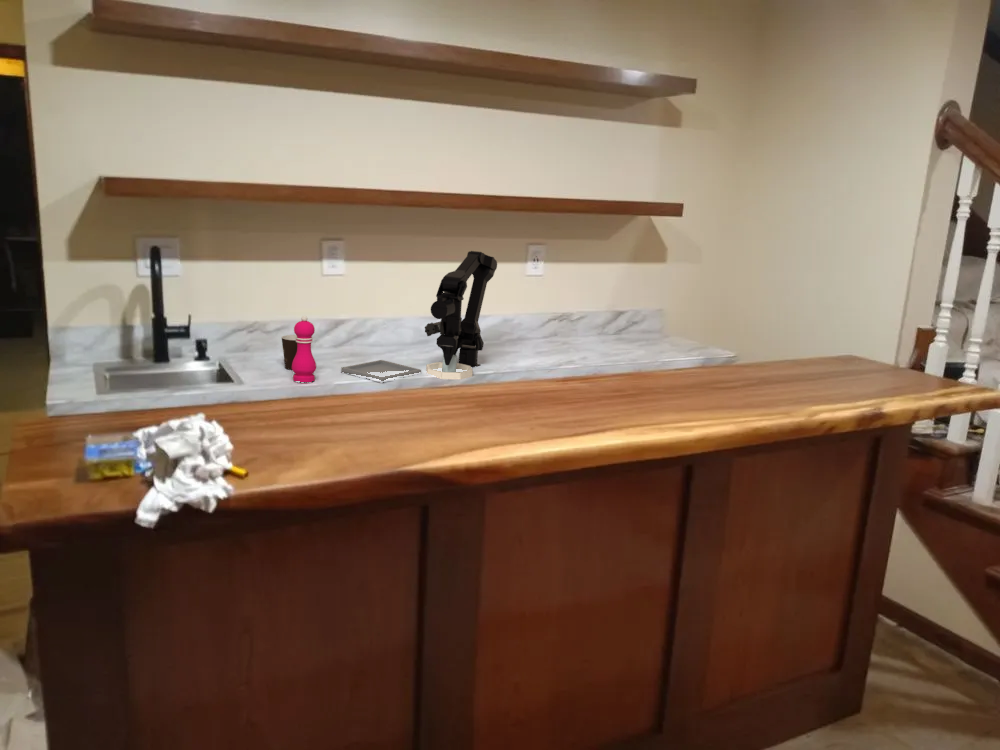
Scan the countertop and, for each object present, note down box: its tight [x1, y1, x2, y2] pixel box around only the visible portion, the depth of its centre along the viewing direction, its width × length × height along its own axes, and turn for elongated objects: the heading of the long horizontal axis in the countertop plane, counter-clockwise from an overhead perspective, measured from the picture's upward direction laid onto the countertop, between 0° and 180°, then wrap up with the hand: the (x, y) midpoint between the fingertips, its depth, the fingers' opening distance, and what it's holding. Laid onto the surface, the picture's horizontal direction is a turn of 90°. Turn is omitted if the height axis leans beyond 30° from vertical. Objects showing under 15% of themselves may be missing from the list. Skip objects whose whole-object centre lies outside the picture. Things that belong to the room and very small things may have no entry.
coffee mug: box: [281, 334, 297, 371], centre depth 255 cm, size 12×9×10 cm
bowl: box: [425, 361, 474, 380], centre depth 259 cm, size 15×15×2 cm
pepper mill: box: [291, 315, 317, 383], centre depth 238 cm, size 7×7×20 cm
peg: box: [442, 354, 458, 372], centre depth 259 cm, size 4×4×6 cm
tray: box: [340, 359, 422, 381], centre depth 255 cm, size 18×18×2 cm
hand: (449, 362), depth 259 cm, fingers open, 9 cm apart
